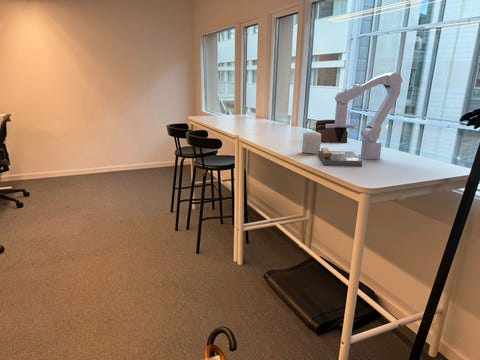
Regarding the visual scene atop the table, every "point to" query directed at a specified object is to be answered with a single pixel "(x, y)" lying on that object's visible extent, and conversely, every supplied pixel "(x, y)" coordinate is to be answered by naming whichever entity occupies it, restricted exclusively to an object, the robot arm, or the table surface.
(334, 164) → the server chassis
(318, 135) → the photo printer
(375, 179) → the table surface
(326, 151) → the tan grey headed bar
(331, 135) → the letter holder
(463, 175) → the table surface
